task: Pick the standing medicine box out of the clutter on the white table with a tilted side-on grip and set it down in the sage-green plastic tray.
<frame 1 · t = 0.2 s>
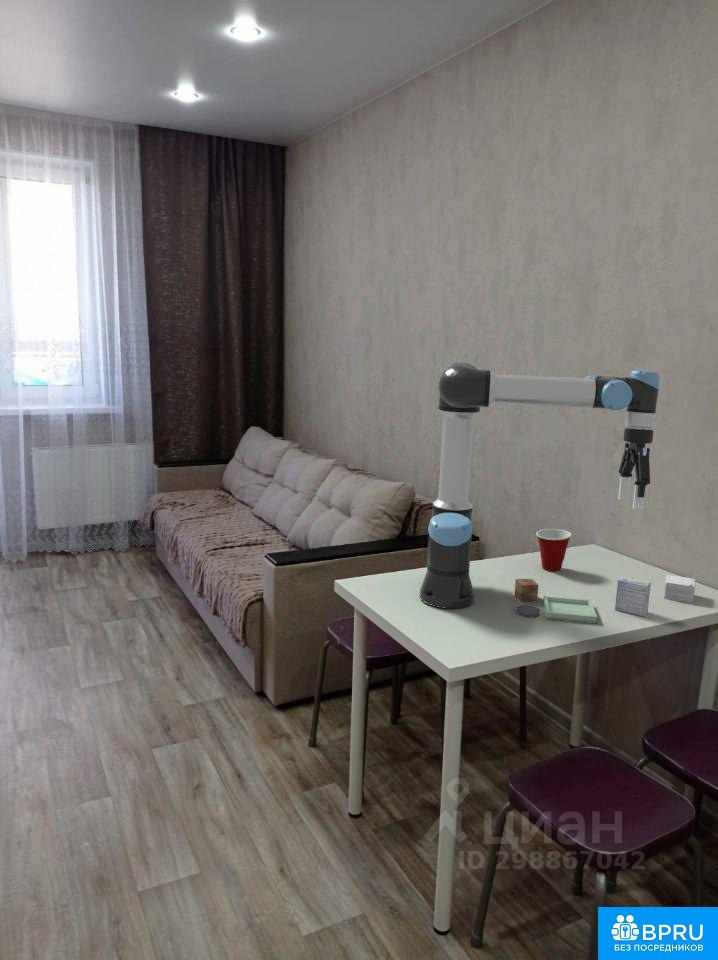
hand: (630, 504, 202), 28 cm above the table, tool pointing down, fingers open, 13 cm apart
small box: (678, 597, 210), on the table
tray: (568, 612, 196), on the table
medicine box: (631, 611, 198), on the table
dark grey pebble: (527, 613, 195), on the table
plastic cup: (550, 569, 232), on the table
walnut cube: (525, 598, 206), on the table
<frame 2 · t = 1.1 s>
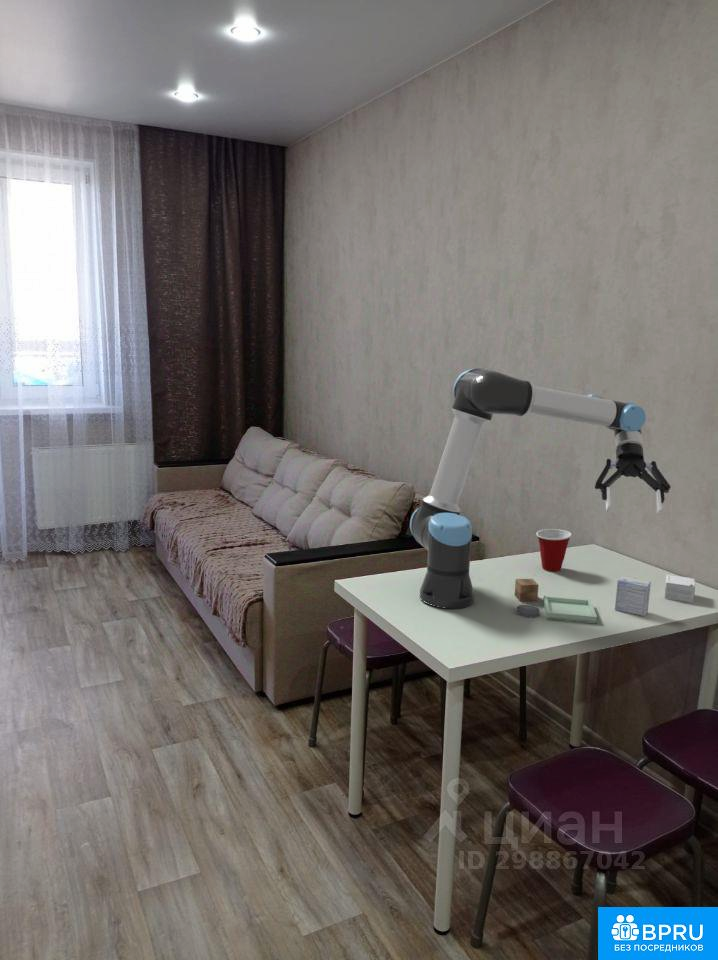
hand: (633, 510, 203), 26 cm above the table, tool tilted 45°, fingers open, 13 cm apart
nothing on the table moved.
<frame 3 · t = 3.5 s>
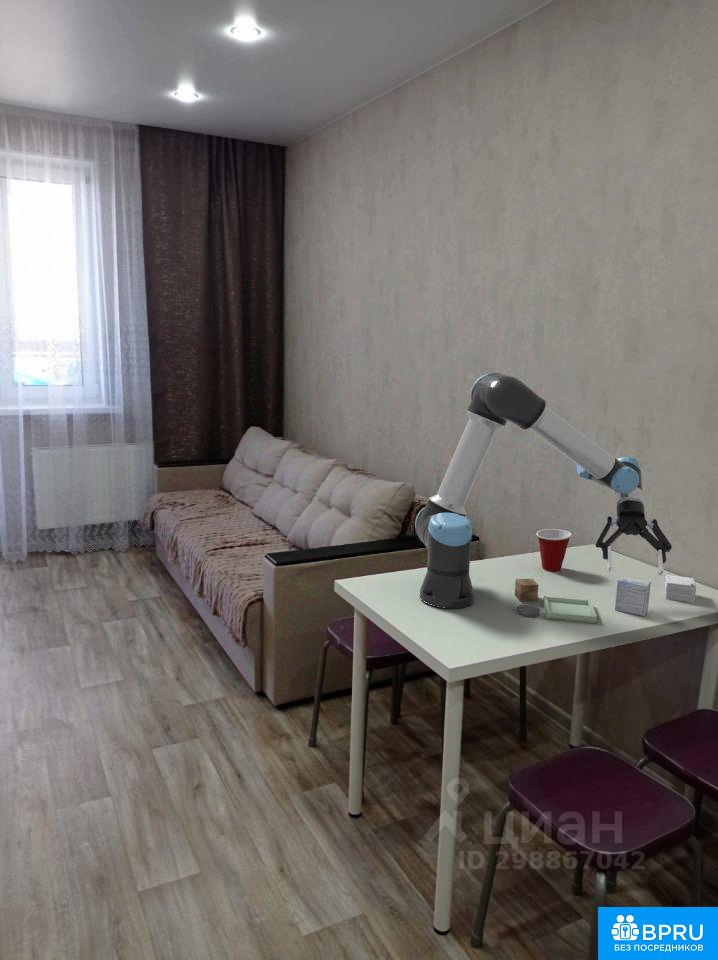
hand: (635, 571, 201), 10 cm above the table, tool tilted 45°, fingers open, 13 cm apart
nothing on the table moved.
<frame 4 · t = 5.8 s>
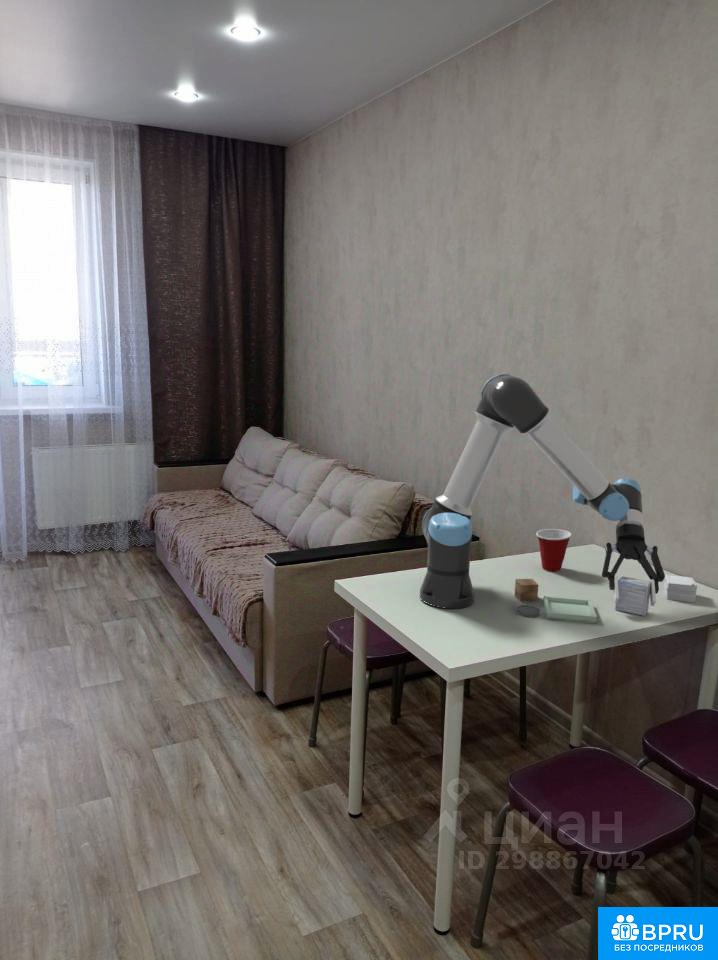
hand: (634, 602, 194), 4 cm above the table, tool tilted 45°, fingers closed on medicine box, 9 cm apart
medicine box: (631, 611, 198), on the table, touching gripper
everything else where it was.
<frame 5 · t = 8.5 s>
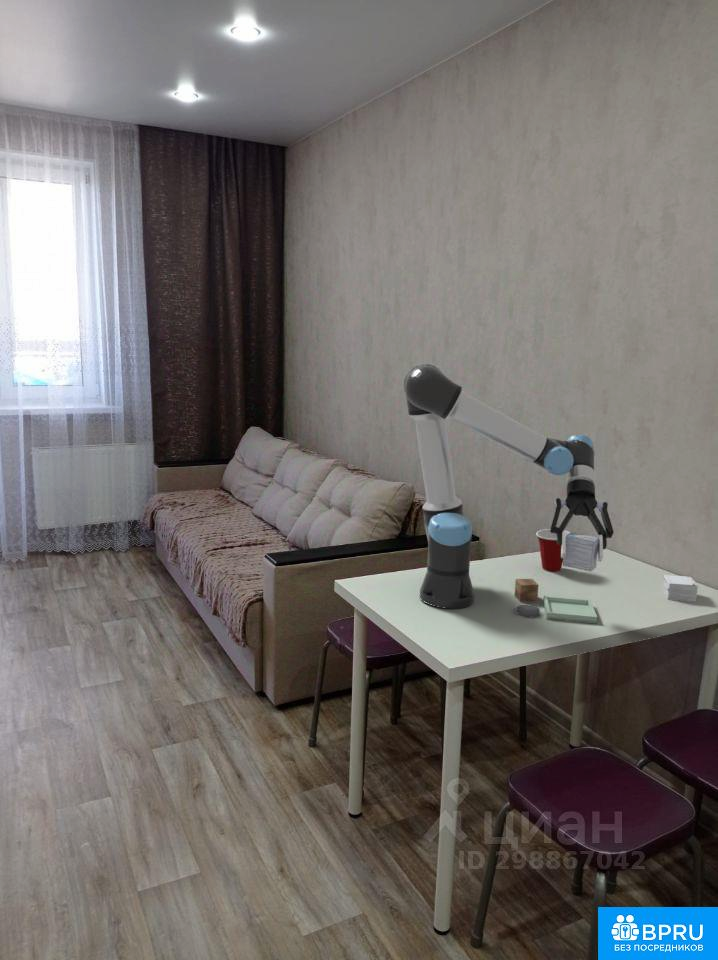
hand: (581, 557, 190), 16 cm above the table, tool tilted 45°, fingers closed on medicine box, 9 cm apart
medicine box: (579, 567, 194), point 13 cm above the table, touching gripper
everything else where it was.
when the fingers open (5 cm above the table, at t = 11.4 s): medicine box stays where it is, resting on tray.
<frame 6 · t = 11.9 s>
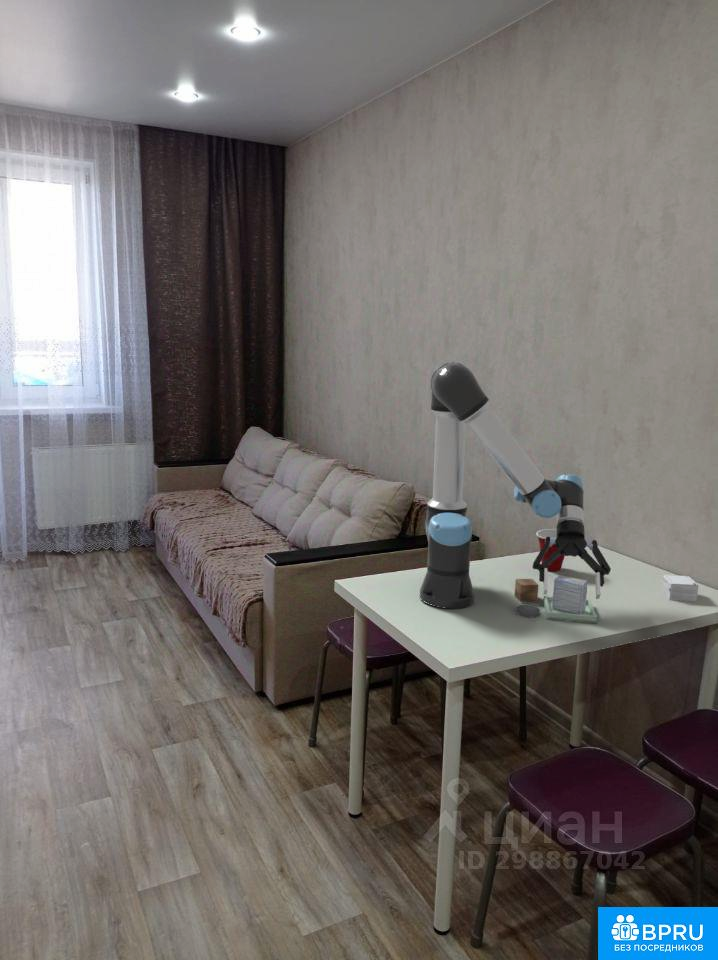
hand: (571, 594, 193), 6 cm above the table, tool tilted 45°, fingers open, 13 cm apart
medicine box: (568, 610, 196), resting on tray
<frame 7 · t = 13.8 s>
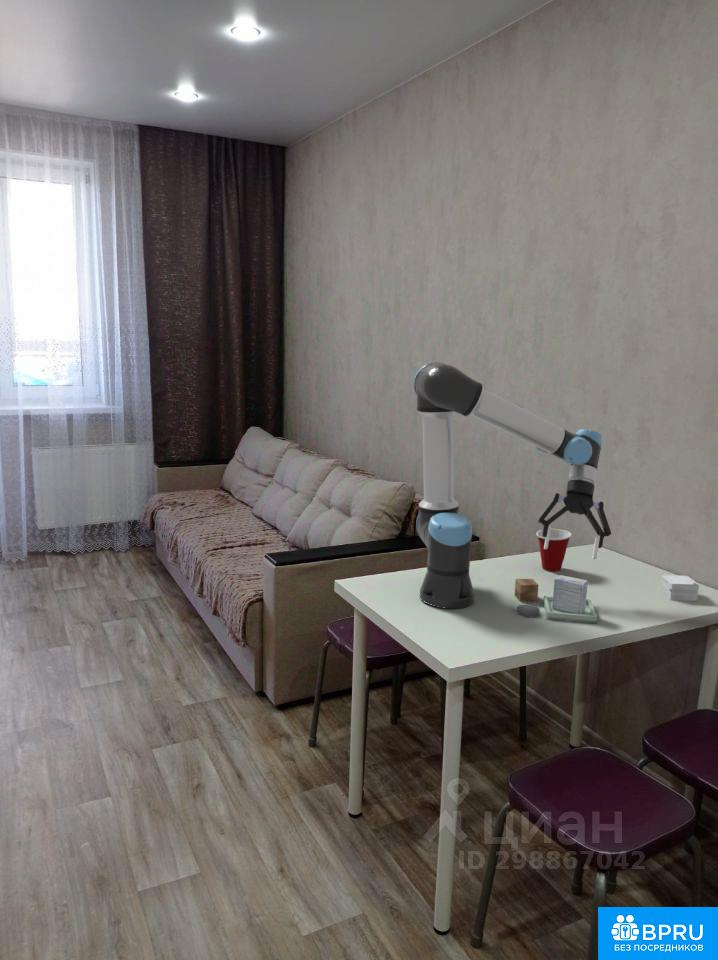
hand: (569, 553, 206), 12 cm above the table, tool tilted 25°, fingers open, 13 cm apart
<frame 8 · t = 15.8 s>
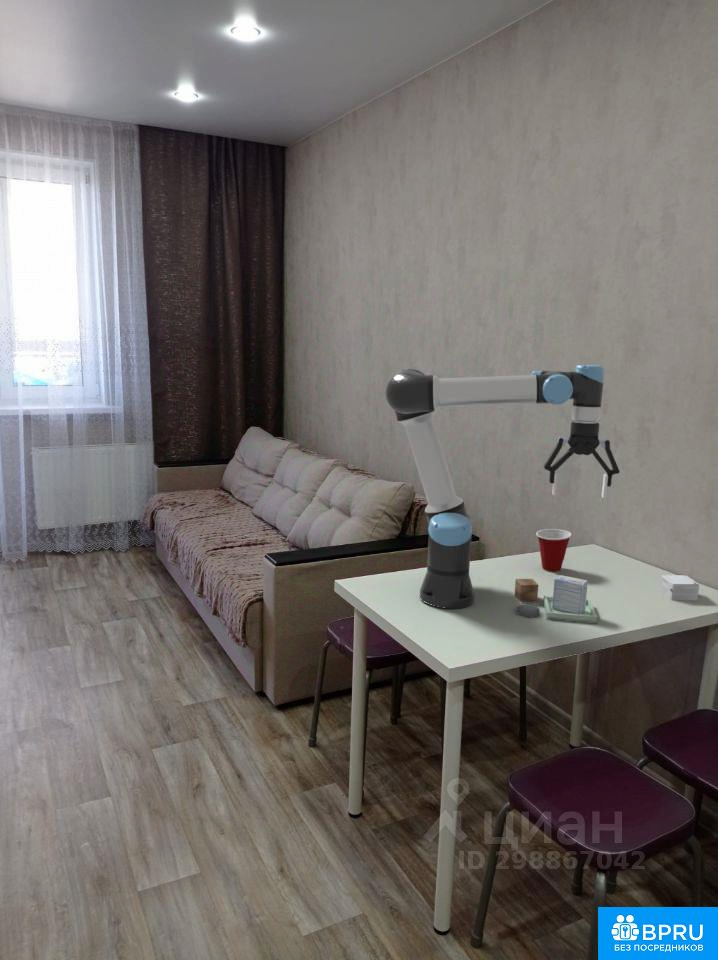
hand: (578, 496, 205), 29 cm above the table, tool pointing down, fingers open, 13 cm apart
at the end: medicine box inside the target area on the tray (0.1 cm from its centre), point 0.4 cm above the tray's base; medicine box tilted 0°; the gripper is holding nothing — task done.
